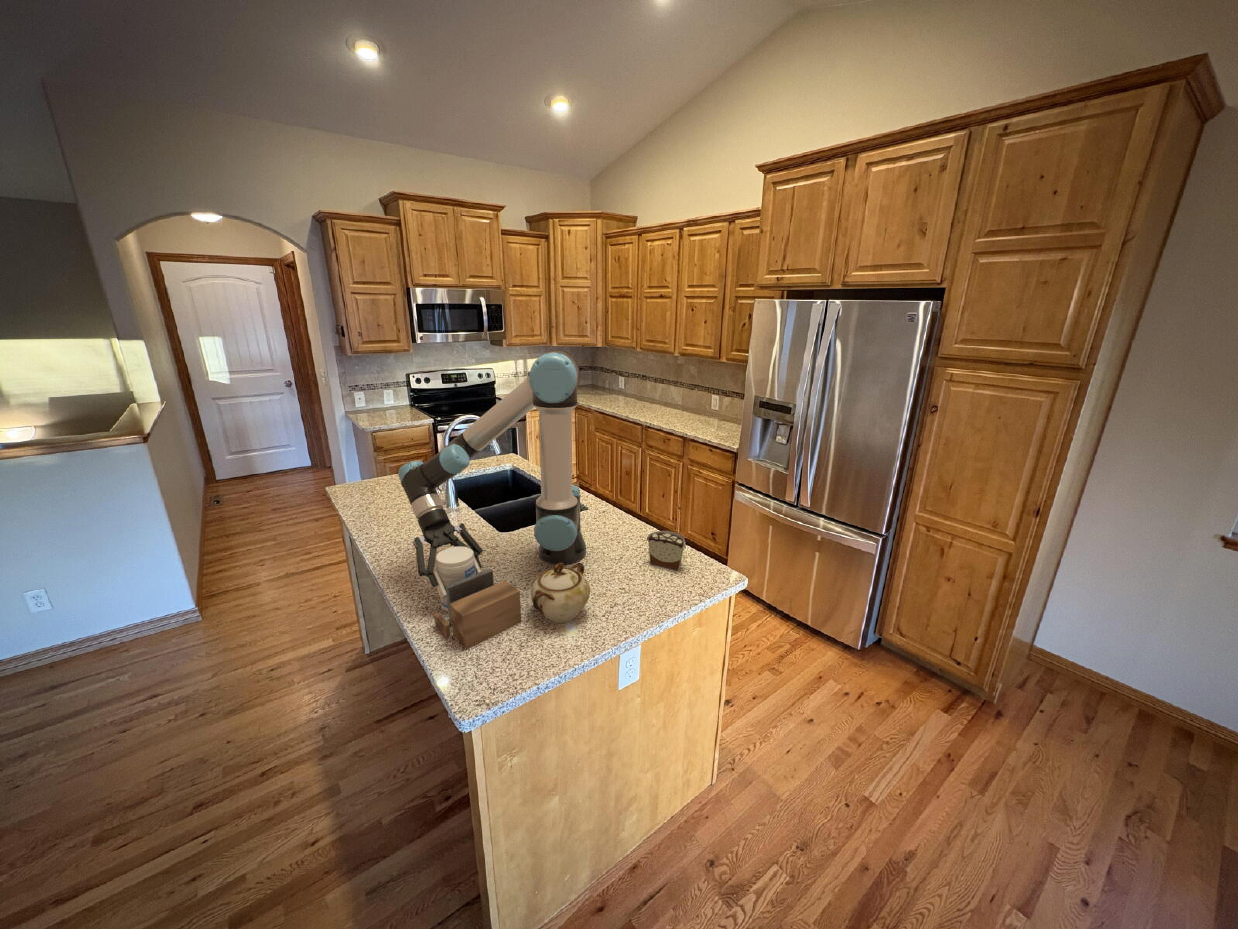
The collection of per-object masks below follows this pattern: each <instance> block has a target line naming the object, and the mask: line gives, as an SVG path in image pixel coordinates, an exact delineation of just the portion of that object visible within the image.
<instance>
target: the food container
mask: <svg viewBox="0 0 1238 929" xmlns="http://www.w3.org/2000/svg"><path fill="white" fill-rule="evenodd" d="M647 541H648V555H649V566H651V567H652V566H653V567H656V568H659V569H660V568H661V569H665V570H668V571H672V572H677V573H679V572H680V571H681V569H680V568H681V563H682V558H683V552H684V550H686V548H687V546H686V541H685V538H684V537H683V536H682V534H679V533H677V532H675V531H669V530H657V531H653V532H650V533H649V534H648V536H647V537H646V542H647Z"/></svg>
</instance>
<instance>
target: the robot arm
mask: <svg viewBox="0 0 1238 929" xmlns="http://www.w3.org/2000/svg"><path fill="white" fill-rule="evenodd" d="M579 377H580V367H579V363H578V361H577V359H576V358H575V357H574V355H572V354H571V353H570V352H568V351H567V350H563V349H552V350H549V351H547V352H545V353H544V354H542V355H540V356H539V357H538V358H536V360H534V362H533V363H532V365H531V367H530V371H528V372H527V373H526V378H525V380H523V381H522V382H521V383H520V384H519V385H517V386H516V387H514V388H513V390H511V391H510V392H509V393H508V394H507V395H505V396H504V397H503V398H502V399H500V400H499V401H498V402H497V403H496V404H495V405H493V406H492V407H491V408H490V409H488V410H487V411H486V412H485V413H483V414H482V415H481V416H480V417H479V418H478V419H476V421H474V422H473V423H471V425H470V426H468V427H467V428H466V429H465V430H463V431H462V433H460V434H459V435H457V436H456V437H454V438H453V439H451V441H450V442H449V443H448V444H447V445H446V446H444V447H443V448H442V449H441V450H440V451H439V452H438V453H436V454H435V455H434V456H432V457H430V458H429V459H428V460H426V461H425V462H423V461H422V460H413V461H412V460H411V461H408V463H404V464H403V465H402V466H400V468H399V469H398V471H397V475H398V478H399V480H400V485H401V487H402V488H403V491H404V493H405V494H406V498H407V499H408V502H409V504H410V506H411V509H412V512H413V514H414V516H415V519H416V520H417V523H418V526H419V528H420V530H421V533H422V536H419V537H418V536H416V537H414V539H413V542H412V545H413V547H414V548H415V552H416V564H417V565H416V566H417V574H418V575H417V576H418V577H426V578H428V579H429V582H430V584H431V587H432V588H436V589H437V591H438V594H439V597H440V596H441V599H442V598H445V596H446V591H445V588H444V586H443V584H442V581H441V579H440V577H439V574H438V572H437V570H436V571H435V570H434V569H435V565H436V556H437V550H438V549H439V548H440V547H442V546H447V545H448V546H449V545H450V546H451V547H468V548H470V549H472V550H473V553H474V558H475V569H476V574H477V573H479V572H482V568H483V565H482V563H481V560H480V557H479V556H480V555H481V554H482V553H483V551H484V550H483V549H482V547H481V546H480V545H479V544H478V542H477V541H476V540H475V539H474V537H473V536H472V535H471V534H470V532H469V531H468V530H467V528H466V525H465V523H463V522H461V523H460V524H459V525H455V526H454V525H453V524H452V523H451V520H450V518H449V516H448V513H447V511H446V509H444V508H445V507H444V504H443V502H442V501H441V498H440V496H439V493H438V491H437V489H438V487H440V486H442V484H445V483H446V482H447V481H449V480H451V479H453V478H454V477H456V476H457V475H458V474H459V475H460V474H461V473H462V472H463V471H464V470H465V469H466V468H468V467H469V465H470V460H472V459H473V458H474V457H475V456H477V454H479V453H480V452H481V451H482V450H484V449H485V448H486V447H487V446H489V445H490V443H492V442H493V441H495V439H497V438H498V437H500V436H502V434H503V433H504V432H506V431H507V430H508V429H509V428H510V427H512V426H513V425H514V424H516V423H518V421H519V420H520V419H521V418H523V417H524V416H526V414H528V413H530V411H532V410H533V409H534V408H535V409H536V410H537V411H538V419H539V420H538V422H539V423H538V424H539V457H540V458H539V459H540V460H539V461H540V462H539V463H540V464H539V465H540V492H541V494H540V496H539V497H538V498H536V500H535V514H536V515H535V516H536V522H535V525H534V528H533V531H534V538H535V540H536V542H537V543H538V545H539V547H538V556H539V558H540V559H541V560H542V561H543V562H545V563H547V564H551V565H557V564H558V563H563V564H564V566H566V565H571V564H574V563H575V564H576V562H577V563H579V561H581V560H583V559H584V558H585V557H586V555H587V544H586V542H585V539H584V536H583V534H582V531H581V530H582V529H581V496H582V495H581V490H580V488H579V487H578V486H577V485H574V484H573V448H572V447H573V442H572V441H573V438H572V437H573V436H572V435H573V432H572V431H573V426H572V425H573V424H572V421H573V419H572V416H573V414H572V413H573V410H575V408H576V407H578V380H579ZM455 532H456V533H457V534H459V536H460V537H461V538H462V539H463V541H464V542H465V543H464V542H463V541H462V540H460V539H459V537H458V536H457V535H455ZM424 543H428V544H430V545H429V546H430V548H429V556H428V560H427V568H426V564H425V563H426V562H425V554H424Z"/></svg>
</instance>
